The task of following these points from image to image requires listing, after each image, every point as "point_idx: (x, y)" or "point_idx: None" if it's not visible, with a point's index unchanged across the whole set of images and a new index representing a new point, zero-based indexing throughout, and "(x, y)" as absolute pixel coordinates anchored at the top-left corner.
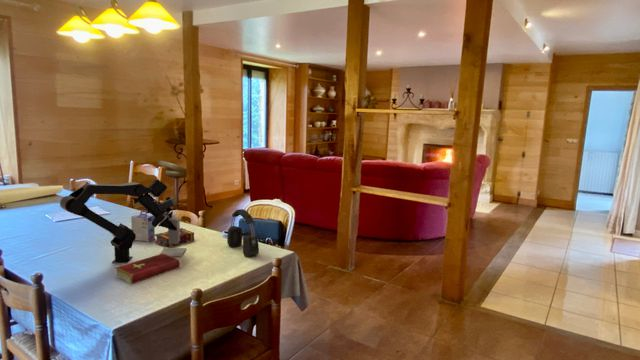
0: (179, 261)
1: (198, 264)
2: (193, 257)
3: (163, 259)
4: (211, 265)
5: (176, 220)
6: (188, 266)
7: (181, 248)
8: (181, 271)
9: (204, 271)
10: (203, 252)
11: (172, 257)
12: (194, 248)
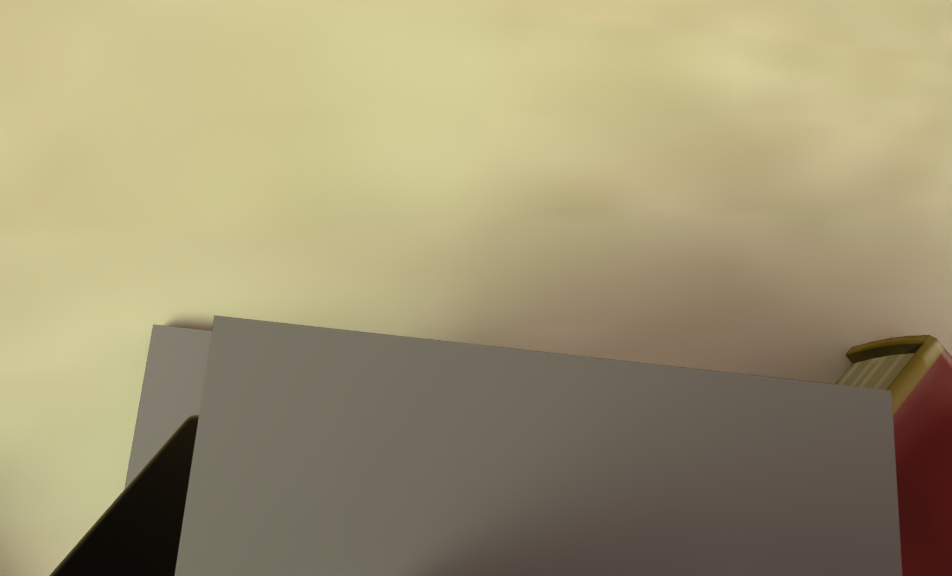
0: (923, 340)
1: (769, 141)
2: (540, 201)
3: (940, 570)
4: (799, 7)
5: (877, 444)
6: (822, 251)
7: (167, 406)
8: (946, 318)
9: (938, 87)
10: (352, 63)
11: None
12: (120, 192)
